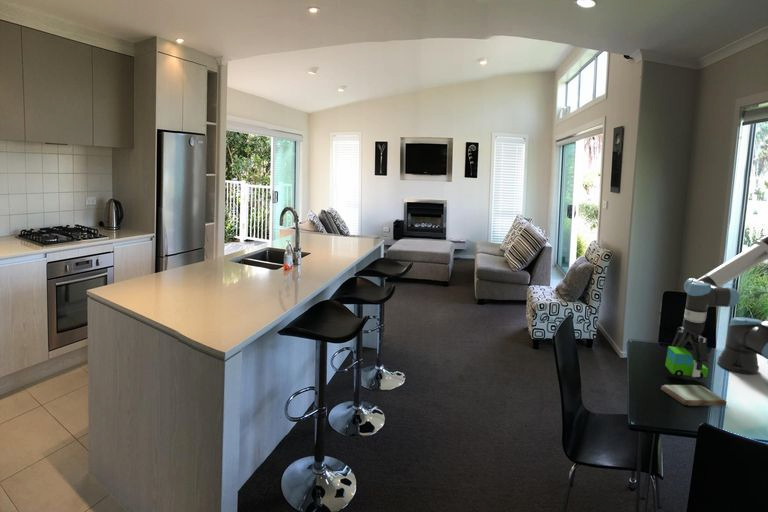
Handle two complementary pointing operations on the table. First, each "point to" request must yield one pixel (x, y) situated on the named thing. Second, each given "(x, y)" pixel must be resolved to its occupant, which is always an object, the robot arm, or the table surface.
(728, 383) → the table surface
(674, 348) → the toy car
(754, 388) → the table surface
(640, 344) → the table surface
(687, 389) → the wooden board
